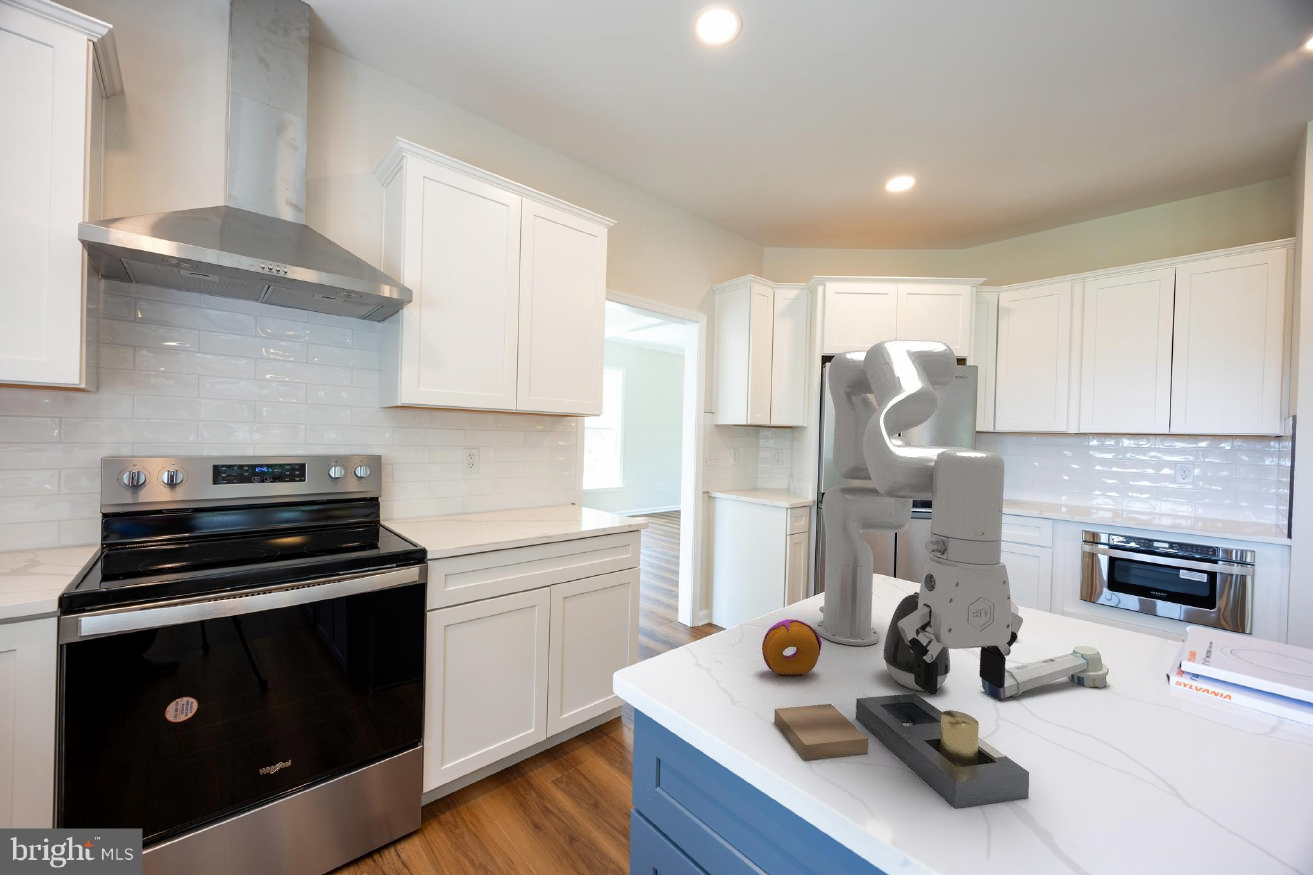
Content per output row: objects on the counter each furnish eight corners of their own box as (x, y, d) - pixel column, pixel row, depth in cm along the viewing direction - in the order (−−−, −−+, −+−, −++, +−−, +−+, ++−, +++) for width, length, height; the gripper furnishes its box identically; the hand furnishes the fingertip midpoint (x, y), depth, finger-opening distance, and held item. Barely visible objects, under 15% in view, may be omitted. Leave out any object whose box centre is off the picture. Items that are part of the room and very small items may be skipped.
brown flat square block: (774, 722, 76) (774, 708, 76) (830, 717, 78) (831, 703, 78) (805, 760, 67) (805, 744, 67) (867, 753, 69) (868, 738, 69)
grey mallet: (976, 667, 88) (1082, 634, 95) (979, 706, 88) (1084, 670, 95) (1005, 681, 83) (1114, 645, 90) (1008, 722, 83) (1117, 683, 90)
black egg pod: (946, 677, 92) (949, 591, 92) (952, 704, 82) (955, 608, 82) (883, 665, 96) (886, 582, 96) (881, 689, 87) (884, 597, 87)
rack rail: (855, 718, 77) (856, 697, 77) (914, 712, 79) (915, 691, 79) (955, 808, 59) (956, 780, 59) (1028, 797, 61) (1029, 770, 61)
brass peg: (932, 767, 66) (933, 711, 66) (959, 763, 67) (960, 709, 67) (956, 787, 62) (958, 729, 62) (985, 783, 63) (986, 726, 63)
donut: (771, 661, 96) (772, 607, 96) (823, 673, 92) (824, 617, 92) (758, 678, 90) (759, 620, 90) (813, 692, 85) (815, 631, 85)
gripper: (926, 559, 59) (920, 708, 60) (1050, 555, 63) (1043, 695, 63) (883, 544, 67) (878, 677, 67) (997, 541, 70) (991, 667, 71)
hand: (958, 686), depth 65 cm, fingers open, 9 cm apart
